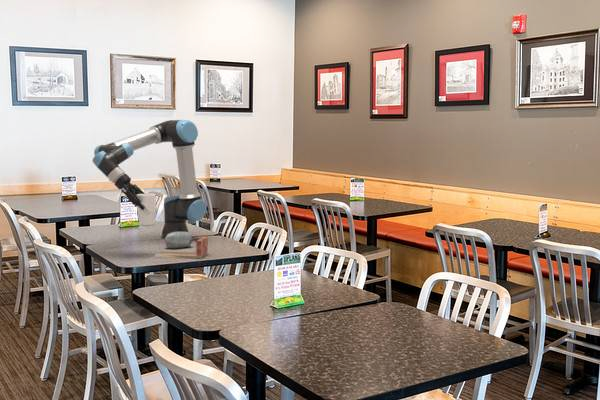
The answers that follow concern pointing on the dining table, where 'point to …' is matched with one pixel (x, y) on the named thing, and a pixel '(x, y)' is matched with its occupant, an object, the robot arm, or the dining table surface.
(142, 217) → the cup
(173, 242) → the grey stone
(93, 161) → the robot arm
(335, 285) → the dining table surface
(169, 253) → the board
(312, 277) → the dining table surface
